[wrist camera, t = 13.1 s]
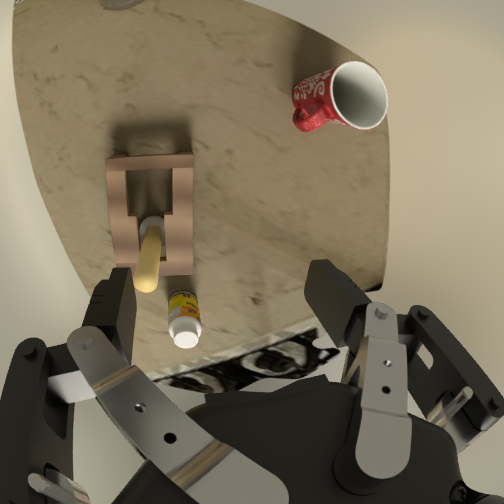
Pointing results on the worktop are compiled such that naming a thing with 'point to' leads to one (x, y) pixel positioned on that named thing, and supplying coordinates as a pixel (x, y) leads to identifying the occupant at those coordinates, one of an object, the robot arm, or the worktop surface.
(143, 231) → the peg
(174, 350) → the worktop surface
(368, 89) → the mug
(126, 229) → the keyhole board
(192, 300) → the supplement bottle
